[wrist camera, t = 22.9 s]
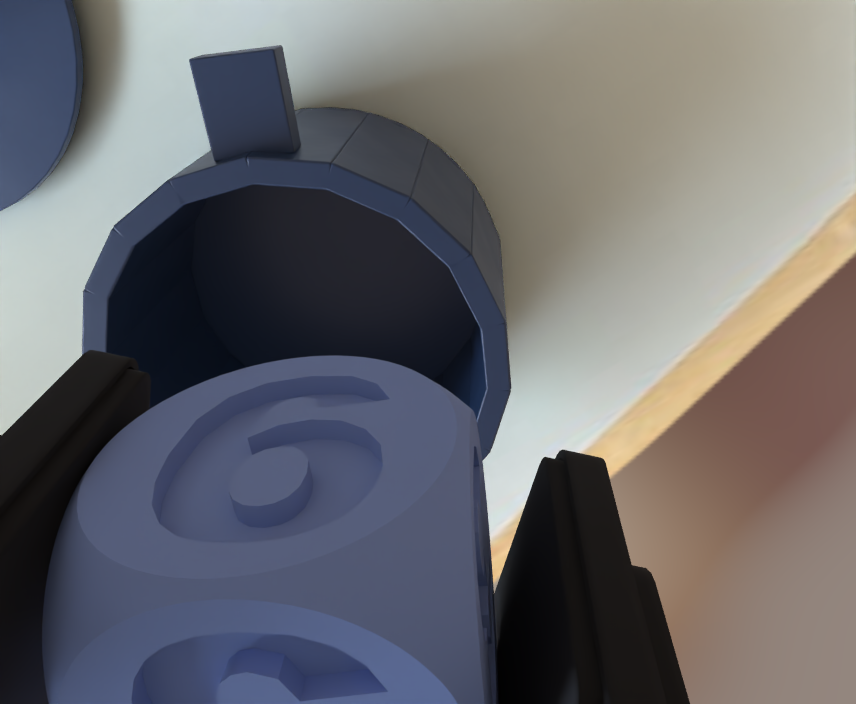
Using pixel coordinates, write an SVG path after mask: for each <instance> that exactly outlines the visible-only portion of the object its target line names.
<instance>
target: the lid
mask: <svg viewBox="0 0 856 704" xmlns="http://www.w3.org/2000/svg"><path fill="white" fill-rule="evenodd" d="M82 87H83V57H82V49H81V41H80V33H79V28H78V23H77V19H76V15H75V11H74V7H73V3H72V0H0V211H1V210H3V209H5V208H7V207H9V206H11V205H13V204H15V203H17V202H18V201H20V200H22V199H23V198H25V197H26V196H27V195H29V194H30V193H31V192H32V191H34V190H35V189H36V188H38V187H39V186H40V185H41V184H42V182H43V181H44V180H45V179H46V178H47V177H48V176H49V175H50V174H51V173H52V172H53V170H54V168H55V167H56V165H57V164H58V162H59V161H60V159H61V158H62V156H63V155H64V153H65V151H66V148H67V146H68V144H69V142H70V139H71V137H72V135H73V132H74V129H75V125H76V121H77V118H78V114H79V110H80V103H81V95H82Z"/></svg>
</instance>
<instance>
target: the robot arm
mask: <svg viewBox="0 0 856 704" xmlns="http://www.w3.org/2000/svg"><path fill="white" fill-rule="evenodd" d="M150 390H151V379H150V375H149V374H148V373H146V372H142V371H139V367H138V363H137V361H136V360H135V359H134V358H129V357H124V356H120V355H115V354H110V353H106V352H101V351H96V350H88V351H87V352H86V353H84V354H83V355H82V356H81V357H80V358H79V359H78V360H77V361H76V362H75V363H74V364H73V365H72V366H71V367H70V368H69V369H68V370H67V371H66V372H65V373H64V374H63V375H62V376H61V377H60V378H59V379H58V380H57V381H56V382H55V383H54V384H53V385H52V386H51V387H50V388H49V389H48V390H47V391H46V392H45V393H44V394H43V395H42V396H41V397H40V398H39V399H38V400H37V401H36V402H35V403H34V404H33V405H32V406H31V407H30V408H29V409H28V410H27V411H26V412H25V413H24V414H23V415H22V416H21V417H20V418H19V419H18V420H17V421H16V422H15V423H14V424H13V425H12V426H11V427H10V428H9V429H8V430H7V431H6V432H5V433H4V434H3V435H0V704H49V702H48V698H47V692H46V686H45V679H44V670H43V655H42V620H43V606H44V596H45V588H46V581H47V575H48V570H49V564H50V560H51V555H52V551H53V547H54V543H55V540H56V536H57V533H58V530H59V527H60V524H61V521H62V518H63V516H64V513H65V510H66V508H67V506H68V503H69V501H70V499H71V497H72V495H73V492H74V491H75V489H76V487H77V485H78V483H79V482H80V480H81V478H82V476H83V475H84V473H85V472H86V471H87V469H88V468H89V466H90V465H91V463H92V462H93V461H94V459H95V458H96V456H97V455H98V454H99V453H100V451H101V450H102V449H103V448H104V447H105V445H106V444H107V443H108V442H109V441H110V440H111V439H112V438H113V437H114V436H115V435H117V434H118V433H119V432H120V431H121V430H122V429H123V428H124V427H126V426H127V425H128V424H130V423H131V422H132V421H133V420H135V419H136V418H137V417H139V416H140V415H142V414H143V413H145V412H146V411H148V410H149V409H150ZM494 605H495V622H496V641H497V667H498V700H499V704H690V702H689V699H688V695H687V692H686V688H685V685H684V681H683V678H682V675H681V671H680V668H679V664H678V660H677V657H676V653H675V650H674V646H673V643H672V639H671V636H670V632H669V629H668V626H667V622H666V618H665V615H664V611H663V608H662V605H661V601H660V598H659V594H658V590H657V587H656V583H655V581H654V579H653V576H652V574H651V572H649V571H648V570H647V569H646V568H643V567H638V566H633V565H631V561H630V558H629V553H628V549H627V545H626V542H625V537H624V533H623V529H622V526H621V522H620V518H619V514H618V510H617V506H616V502H615V498H614V494H613V490H612V487H611V482H610V479H609V475H608V471H607V467H606V463H605V461H604V459H602V458H599V457H595V456H590V455H585V454H581V453H576V452H571V451H567V450H561V451H559V453H558V454H557V456H556V458H555V459H552V458H547V457H544V458H543V459H542V461H541V463H540V465H539V468H538V471H537V473H536V476H535V479H534V482H533V485H532V488H531V491H530V493H529V496H528V499H527V502H526V505H525V508H524V511H523V513H522V516H521V519H520V522H519V525H518V528H517V530H516V533H515V536H514V539H513V542H512V545H511V548H510V550H509V553H508V556H507V559H506V562H505V565H504V568H503V570H502V573H501V576H500V579H499V582H498V585H497V587H496V591H495V593H494Z"/></svg>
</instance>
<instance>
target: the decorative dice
mask: <svg viewBox="0 0 856 704" xmlns="http://www.w3.org/2000/svg"><path fill="white" fill-rule="evenodd" d="M42 655H43V670H44V679H45V686H46V692H47V698H48V702H49V704H499V700H498V667H497V641H496V622H495V605H494V590H493V575H492V561H491V548H490V535H489V523H488V512H487V501H486V491H485V481H484V472H483V463H482V454H481V446H480V439H479V433H478V427H477V421H476V417H475V413H474V411H473V410H472V409H471V408H470V407H468V406H467V405H466V404H465V403H464V402H462V401H461V400H460V399H459V398H457V397H456V396H455V395H453V394H452V393H451V392H449V391H448V390H447V389H445V388H444V387H442V386H441V385H439V384H437V383H436V382H434V381H432V380H430V379H429V378H427V377H425V376H424V375H422V374H420V373H418V372H416V371H414V370H412V369H409V368H407V367H404V366H401V365H398V364H395V363H391V362H388V361H383V360H378V359H372V358H366V357H356V356H310V357H300V358H292V359H285V360H279V361H273V362H268V363H263V364H259V365H255V366H250V367H247V368H243V369H239V370H236V371H233V372H230V373H226V374H223V375H220V376H218V377H215V378H212V379H209V380H207V381H204V382H202V383H200V384H197V385H195V386H192V387H190V388H188V389H186V390H184V391H182V392H180V393H177V394H175V395H174V396H172V397H170V398H168V399H166V400H164V401H162V402H161V403H159V404H157V405H156V406H154V407H152V408H151V409H149V410H148V411H146V412H145V413H143V414H142V415H140V416H139V417H137V418H136V419H135V420H133V421H132V422H131V423H130V424H128V425H127V426H126V427H124V428H123V429H122V430H121V431H120V432H119V433H118V434H117V435H115V436H114V437H113V438H112V439H111V440H110V441H109V442H108V443H107V444H106V445H105V447H104V448H103V449H102V450H101V451H100V453H99V454H98V455H97V456H96V458H95V459H94V461H93V462H92V463H91V465H90V466H89V468H88V469H87V471H86V472H85V473H84V475H83V476H82V478H81V480H80V482H79V483H78V485H77V487H76V489H75V491H74V492H73V495H72V497H71V499H70V501H69V503H68V506H67V508H66V510H65V513H64V516H63V518H62V521H61V524H60V527H59V530H58V533H57V536H56V540H55V543H54V547H53V551H52V555H51V560H50V564H49V570H48V575H47V581H46V588H45V596H44V606H43V620H42Z"/></svg>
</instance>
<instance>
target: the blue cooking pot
mask: <svg viewBox="0 0 856 704" xmlns="http://www.w3.org/2000/svg"><path fill="white" fill-rule="evenodd" d="M189 62H190V66H191V70H192V74H193V78H194V82H195V86H196V90H197V94H198V98H199V102H200V106H201V110H202V114H203V119H204V123H205V127H206V131H207V135H208V139H209V143H210V147H211V151H209V152H208V153H207V154H205V155H204V156H202V157H201V158H199V159H198V160H196V161H195V162H194V163H192V164H191V165H189V166H188V167H186V168H185V169H183V170H182V171H181V172H179V173H178V174H176V175H175V176H173V177H172V178H170V179H169V180H167V181H166V182H165V183H164V184H163V185H162V186H160V187H159V188H158V189H157V190H156V191H154V192H153V193H152V194H151V195H150V196H149V197H147V198H146V199H145V200H144V201H143V202H141V203H140V204H139V205H138V206H137V207H136V208H134V209H133V210H132V211H131V212H130V213H128V214H127V215H126V216H125V217H124V218H122V219H121V220H120V221H119V222H118V223H117V224H115V225H114V228H113V229H112V230H111V232H110V234H109V236H108V239H107V241H106V243H105V245H104V247H103V249H102V251H101V254H100V256H99V258H98V260H97V262H96V264H95V266H94V268H93V271H92V273H91V275H90V277H89V279H88V281H87V283H86V286H85V289H84V291H83V339H82V355H83V354H84V353H86V352H87V351H88V350H96V351H101V352H106V353H110V354H115V355H120V356H124V357H129V358H134V359H135V360H136V361H137V363H138V367H139V371H142V372H146V373H148V374H149V375H150V379H151V390H150V409H151V408H152V407H154V406H156V405H157V404H159V403H161V402H162V401H164V400H166V399H168V398H170V397H172V396H174V395H175V394H177V393H180V392H182V391H184V390H186V389H188V388H190V387H192V386H195V385H197V384H200V383H202V382H204V381H207V380H209V379H212V378H215V377H218V376H220V375H223V374H226V373H230V372H233V371H236V370H239V369H243V368H247V367H250V366H255V365H259V364H263V363H268V362H273V361H279V360H285V359H292V358H300V357H310V356H356V357H366V358H372V359H378V360H383V361H388V362H391V363H395V364H398V365H401V366H404V367H407V368H409V369H412V370H414V371H416V372H418V373H420V374H422V375H424V376H425V377H427V378H429V379H430V380H432V381H434V382H436V383H437V384H439V385H441V386H442V387H444V388H445V389H447V390H448V391H449V392H451V393H452V394H453V395H455V396H456V397H457V398H459V399H460V400H461V401H462V402H464V403H465V404H466V405H467V406H468V407H470V408H471V409H472V410H473V411H474V413H475V417H476V421H477V427H478V433H479V439H480V446H481V454H482V461H483V460H484V458H485V457H486V456H487V455H488V454H489V453H490V451H491V449H492V446H493V443H494V440H495V437H496V434H497V431H498V428H499V425H500V422H501V419H502V416H503V413H504V410H505V407H506V404H507V401H508V398H509V395H510V392H511V390H510V389H511V377H510V364H509V351H508V337H507V324H506V311H505V298H504V285H503V272H502V259H501V246H500V239H499V235H498V233H497V230H496V228H495V226H494V223H493V220H492V218H491V216H490V214H489V211H488V209H487V207H486V205H485V202H484V200H483V199H482V197H481V195H480V194H479V192H478V191H477V189H476V186H475V184H473V182H472V181H471V180H470V179H469V178H468V176H467V175H466V174H465V173H464V171H463V170H462V169H461V168H460V167H459V165H458V164H457V163H456V162H455V161H454V160H453V159H451V158H450V157H449V156H448V155H447V154H446V153H445V152H444V151H443V150H442V149H441V148H439V147H438V146H437V145H435V144H434V143H432V142H431V141H430V140H428V139H427V138H425V137H424V136H423V135H421V134H419V133H418V132H416V131H414V130H412V129H410V128H408V127H406V126H404V125H403V124H401V123H398V122H396V121H393V120H390V119H388V118H385V117H382V116H380V115H376V114H372V113H368V112H363V111H359V110H354V109H343V108H332V107H329V108H306V109H305V108H302V109H299V110H296V111H295V110H294V105H293V99H292V94H291V89H290V84H289V79H288V73H287V68H286V63H285V58H284V53H283V47H282V46H281V45H279V46H271V47H263V48H255V49H247V50H239V51H231V52H223V53H215V54H207V55H201V56H197V57H194V58H191V59H190V60H189Z"/></svg>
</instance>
